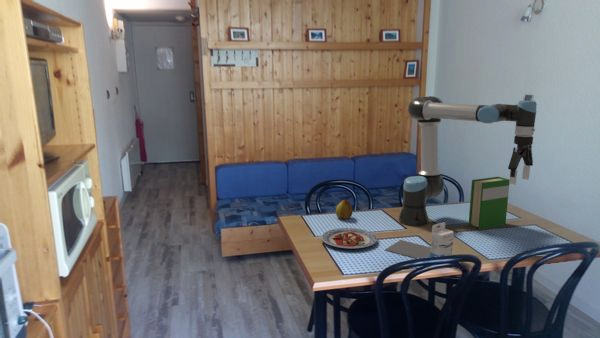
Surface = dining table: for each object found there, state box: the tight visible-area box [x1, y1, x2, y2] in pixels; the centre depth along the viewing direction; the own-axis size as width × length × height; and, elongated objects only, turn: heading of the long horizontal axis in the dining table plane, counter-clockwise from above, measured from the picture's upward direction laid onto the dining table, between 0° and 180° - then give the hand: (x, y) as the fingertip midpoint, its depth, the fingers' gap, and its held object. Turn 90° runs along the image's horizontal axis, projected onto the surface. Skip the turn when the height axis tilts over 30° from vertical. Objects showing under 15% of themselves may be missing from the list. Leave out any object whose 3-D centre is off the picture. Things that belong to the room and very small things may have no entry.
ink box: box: [430, 221, 455, 257], centre depth 183 cm, size 8×5×15 cm, turn 123°
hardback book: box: [468, 176, 510, 231], centre depth 223 cm, size 18×7×24 cm, turn 114°
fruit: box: [335, 197, 353, 220], centre depth 237 cm, size 9×9×12 cm
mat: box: [384, 239, 431, 260], centre depth 193 cm, size 19×15×1 cm
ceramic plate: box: [320, 227, 378, 250], centre depth 204 cm, size 26×26×3 cm
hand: (519, 181), depth 201 cm, fingers open, 13 cm apart
